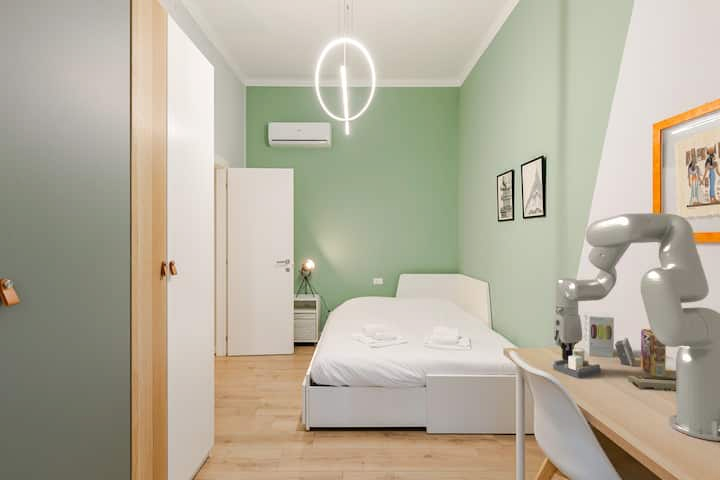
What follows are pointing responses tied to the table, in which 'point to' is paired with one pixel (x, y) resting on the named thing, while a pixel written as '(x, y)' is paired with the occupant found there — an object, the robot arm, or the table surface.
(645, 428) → the table surface
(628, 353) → the electrical switch
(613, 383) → the table surface
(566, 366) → the switch bank
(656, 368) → the candy box
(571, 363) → the white block
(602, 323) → the supplement box
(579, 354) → the tab
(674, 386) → the computer
